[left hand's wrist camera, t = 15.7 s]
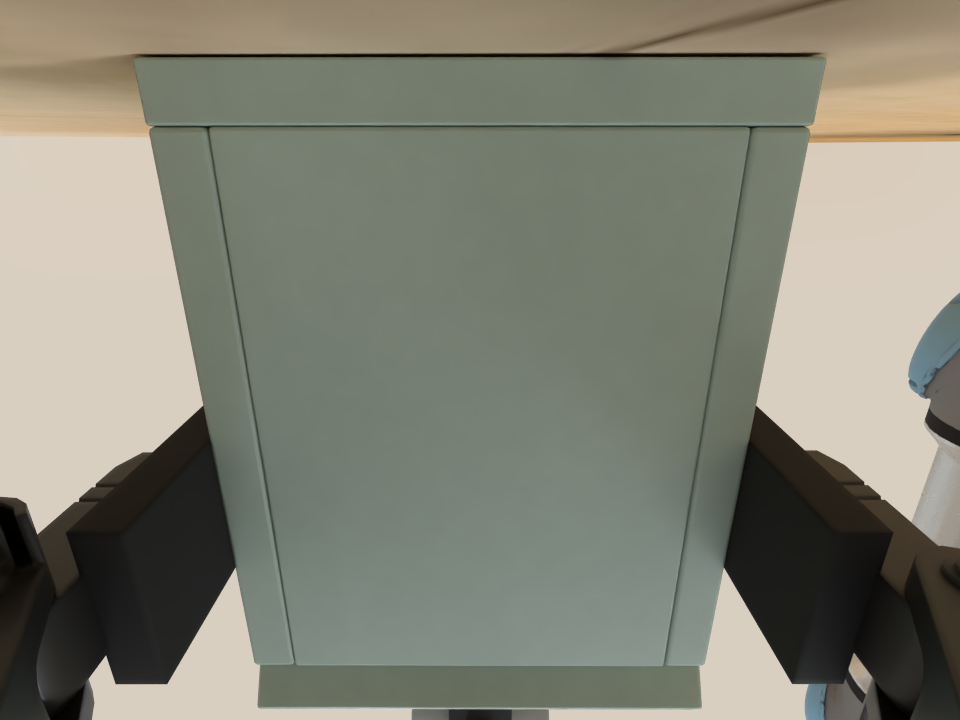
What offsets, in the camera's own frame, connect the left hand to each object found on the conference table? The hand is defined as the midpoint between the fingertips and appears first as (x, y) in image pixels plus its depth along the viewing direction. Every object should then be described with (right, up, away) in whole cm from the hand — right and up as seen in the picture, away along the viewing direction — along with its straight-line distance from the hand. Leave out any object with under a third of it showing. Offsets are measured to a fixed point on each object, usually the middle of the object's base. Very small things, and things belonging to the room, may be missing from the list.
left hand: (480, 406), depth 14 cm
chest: (0, +8, +2) cm, 9 cm away
